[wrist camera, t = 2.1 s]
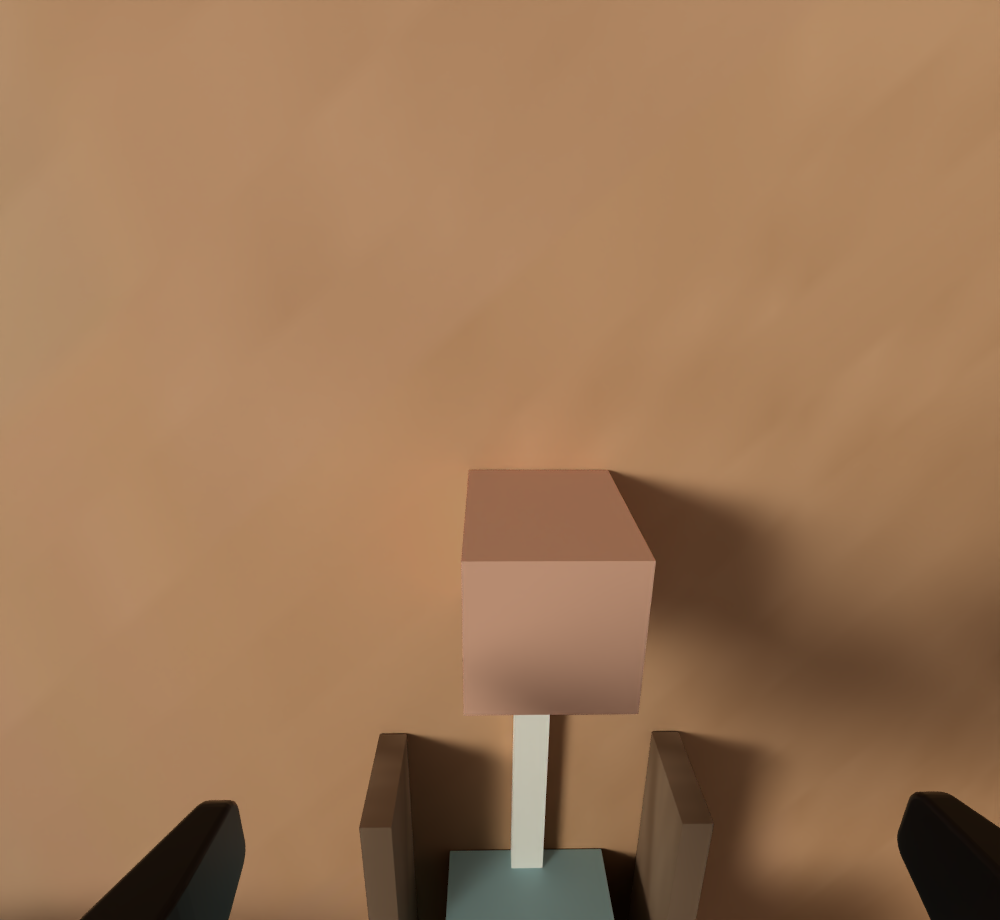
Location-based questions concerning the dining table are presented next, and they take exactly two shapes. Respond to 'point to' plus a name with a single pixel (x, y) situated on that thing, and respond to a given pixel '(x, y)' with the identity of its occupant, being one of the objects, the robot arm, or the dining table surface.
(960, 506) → the dining table surface
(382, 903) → the shelf lane
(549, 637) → the tethered block
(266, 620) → the dining table surface
